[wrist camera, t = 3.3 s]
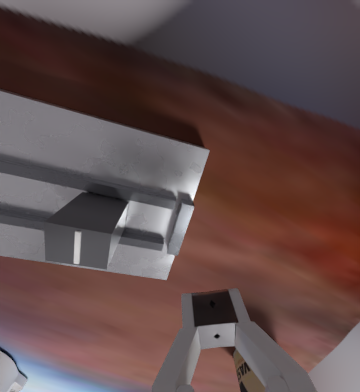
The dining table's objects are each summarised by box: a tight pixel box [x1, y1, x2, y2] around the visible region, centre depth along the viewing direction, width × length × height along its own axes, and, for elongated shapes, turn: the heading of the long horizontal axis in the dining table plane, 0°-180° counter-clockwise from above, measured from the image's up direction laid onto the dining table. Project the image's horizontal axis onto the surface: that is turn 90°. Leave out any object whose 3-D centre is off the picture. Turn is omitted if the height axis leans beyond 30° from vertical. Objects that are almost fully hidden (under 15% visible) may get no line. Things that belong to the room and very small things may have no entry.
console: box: [0, 89, 210, 280], centre depth 14 cm, size 26×14×3 cm, turn 75°
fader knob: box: [44, 192, 129, 270], centre depth 12 cm, size 4×3×4 cm
